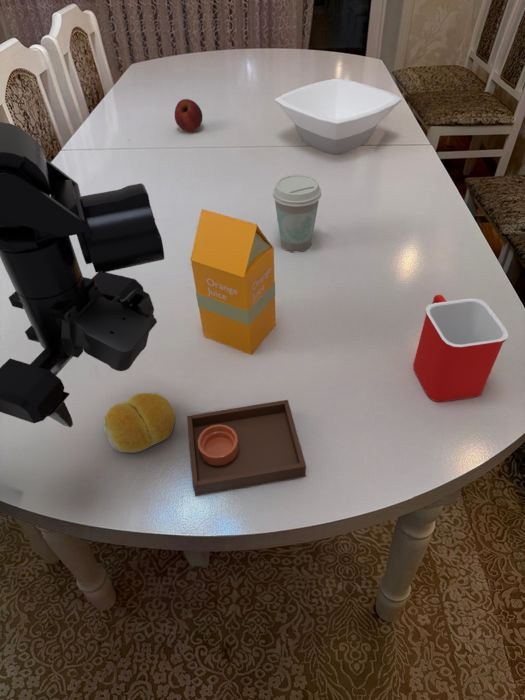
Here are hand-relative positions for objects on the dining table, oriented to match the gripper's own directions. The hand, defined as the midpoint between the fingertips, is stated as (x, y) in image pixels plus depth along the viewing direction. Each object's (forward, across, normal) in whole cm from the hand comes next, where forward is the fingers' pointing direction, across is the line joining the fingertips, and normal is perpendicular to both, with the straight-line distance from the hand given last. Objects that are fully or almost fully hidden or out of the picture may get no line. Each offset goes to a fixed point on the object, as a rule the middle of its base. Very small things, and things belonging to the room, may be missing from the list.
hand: (93, 393), depth 55 cm
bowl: (+10, +100, -2) cm, 100 cm away
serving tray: (+11, +6, -15) cm, 20 cm away
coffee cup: (+10, +52, -7) cm, 53 cm away
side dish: (+10, +4, -13) cm, 17 cm away
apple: (+11, +96, +38) cm, 104 cm away
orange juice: (+11, +26, -6) cm, 29 cm away
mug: (+10, +27, -37) cm, 47 cm away
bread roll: (+11, +4, -1) cm, 12 cm away
